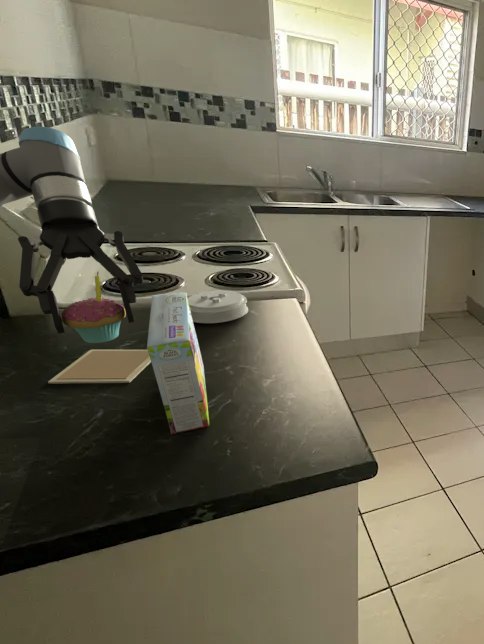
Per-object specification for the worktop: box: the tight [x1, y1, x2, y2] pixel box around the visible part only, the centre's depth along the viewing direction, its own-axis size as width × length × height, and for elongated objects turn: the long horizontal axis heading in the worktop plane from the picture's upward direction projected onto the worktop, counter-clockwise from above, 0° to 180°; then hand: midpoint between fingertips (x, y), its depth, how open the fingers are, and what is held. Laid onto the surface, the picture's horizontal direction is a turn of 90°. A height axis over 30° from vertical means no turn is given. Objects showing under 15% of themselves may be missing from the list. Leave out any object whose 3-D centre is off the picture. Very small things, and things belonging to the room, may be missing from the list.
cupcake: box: [60, 271, 127, 344], centre depth 81 cm, size 9×8×12 cm
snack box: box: [146, 291, 210, 435], centre depth 76 cm, size 21×6×15 cm, turn 33°
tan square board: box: [47, 349, 152, 385], centre depth 86 cm, size 12×12×1 cm
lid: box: [187, 289, 249, 324], centre depth 108 cm, size 13×13×5 cm
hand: (96, 324), depth 80 cm, fingers closed on cupcake, 8 cm apart
